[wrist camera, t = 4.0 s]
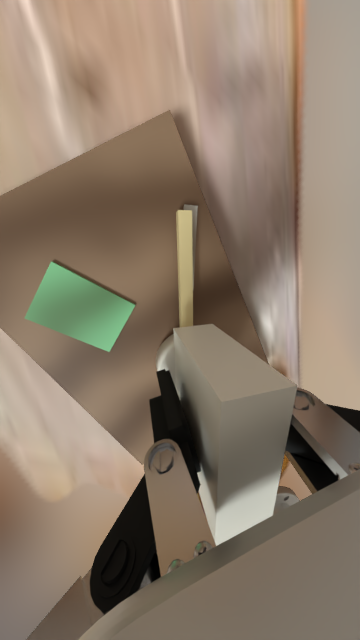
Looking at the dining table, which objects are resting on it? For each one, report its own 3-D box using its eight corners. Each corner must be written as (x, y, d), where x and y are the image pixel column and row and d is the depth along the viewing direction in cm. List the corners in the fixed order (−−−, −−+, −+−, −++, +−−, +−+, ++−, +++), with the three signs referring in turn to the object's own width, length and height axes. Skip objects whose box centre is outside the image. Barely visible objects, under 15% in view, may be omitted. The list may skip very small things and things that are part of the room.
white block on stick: (212, 389, 15) (292, 514, 7) (158, 399, 14) (188, 557, 6) (216, 214, 11) (390, 107, 4) (143, 212, 10) (174, 57, 3)
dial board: (259, 366, 18) (275, 379, 16) (141, 443, 17) (142, 467, 15) (163, 136, 11) (170, 106, 9) (-49, 245, 10) (-95, 240, 8)
